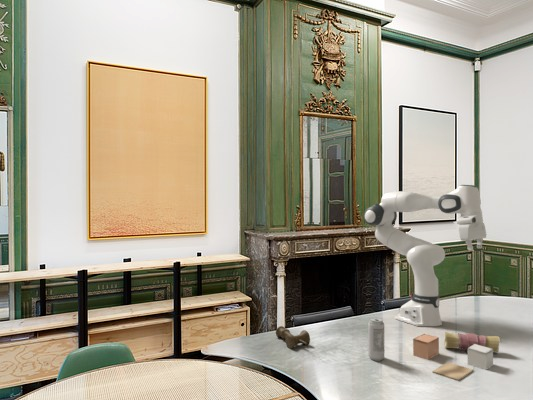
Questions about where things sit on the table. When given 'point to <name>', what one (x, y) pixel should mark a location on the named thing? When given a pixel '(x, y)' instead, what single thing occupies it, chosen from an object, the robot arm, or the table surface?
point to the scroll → (470, 341)
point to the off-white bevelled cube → (480, 356)
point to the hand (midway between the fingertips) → (475, 249)
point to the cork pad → (453, 371)
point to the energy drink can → (376, 339)
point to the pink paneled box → (426, 346)
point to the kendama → (292, 337)
